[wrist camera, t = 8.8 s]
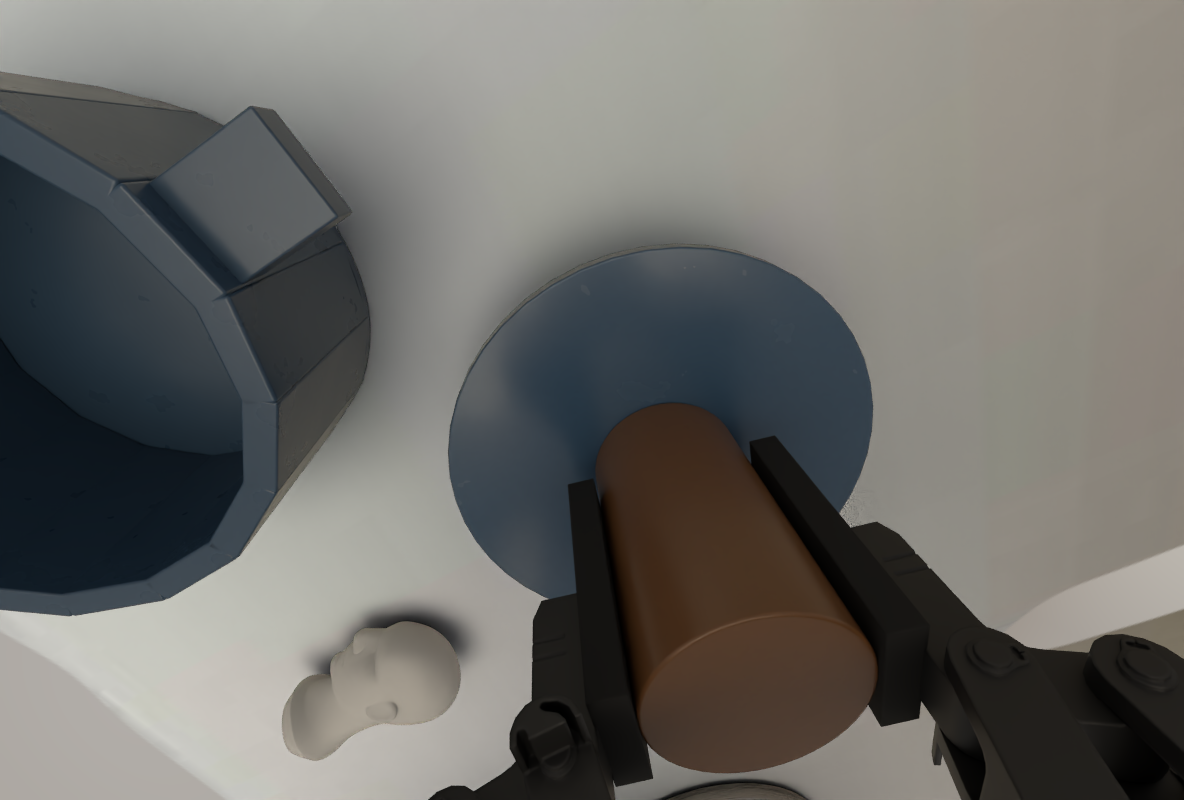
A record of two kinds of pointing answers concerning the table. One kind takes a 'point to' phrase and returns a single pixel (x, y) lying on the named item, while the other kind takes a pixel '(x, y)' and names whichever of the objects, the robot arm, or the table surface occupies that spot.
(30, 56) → the table surface
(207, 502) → the tin
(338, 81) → the table surface
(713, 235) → the table surface
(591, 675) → the robot arm
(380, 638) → the mannequin head
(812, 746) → the tin lid
